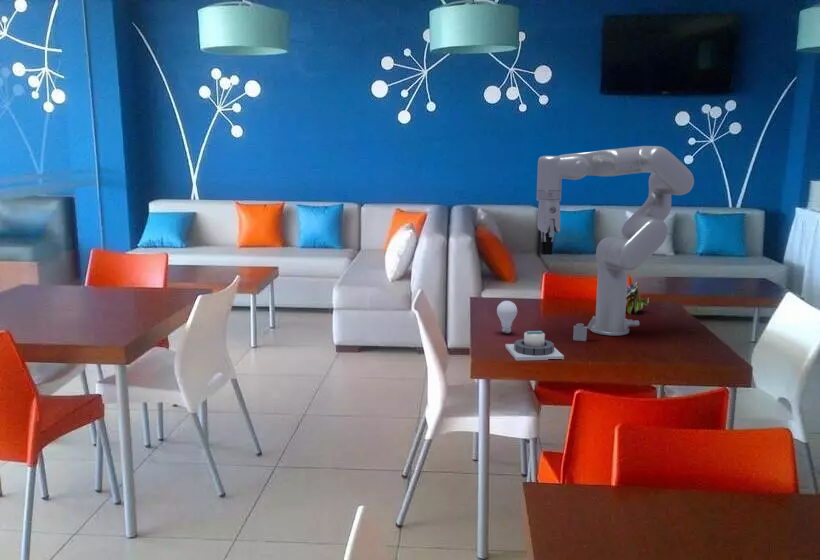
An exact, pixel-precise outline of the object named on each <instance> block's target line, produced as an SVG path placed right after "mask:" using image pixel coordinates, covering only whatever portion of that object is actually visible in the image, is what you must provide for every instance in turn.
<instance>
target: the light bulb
mask: <svg viewBox="0 0 820 560" xmlns="http://www.w3.org/2000/svg"><path fill="white" fill-rule="evenodd" d="M517 314H518V308H517V305H516V304H515V303H514V302H513V301H510V300H503V301H501V302H500V303H499V304H498V305H497V308H496V315H497V316H498V318H499V320H500V322H501V331H502V333H503V334H506V335H507V334H510V333H511V332H512V328H511V327H512V326H513V322H514V319H515V318H516V317H517Z"/></svg>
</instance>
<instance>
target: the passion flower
mask: <svg viewBox="0 0 820 560" xmlns="http://www.w3.org/2000/svg"><path fill="white" fill-rule="evenodd" d="M638 285H639V282H638V281H635V283H634V284H633V283H631V284H629V285H627V296H626V312H627V314H629V315H632V311H633V308H634V313H635V314H636V313H638V311H643V308H644V306H646V307H649V302H650V297H646V298H640V295H639V287H638Z"/></svg>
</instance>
